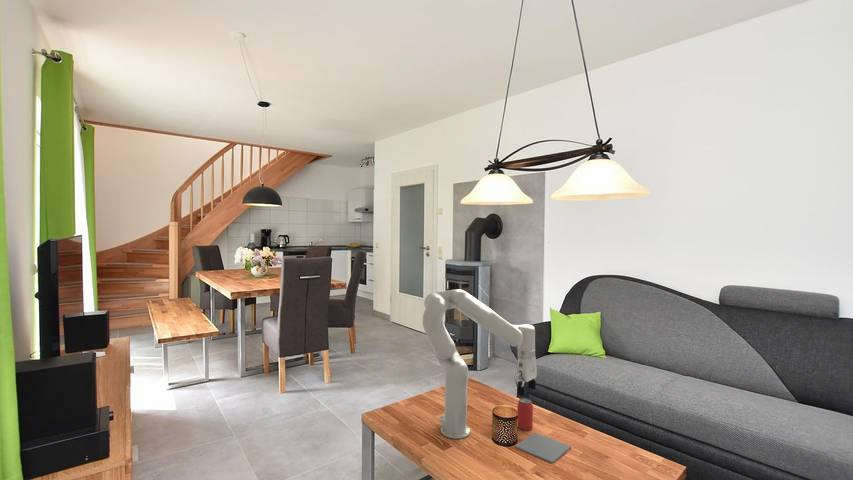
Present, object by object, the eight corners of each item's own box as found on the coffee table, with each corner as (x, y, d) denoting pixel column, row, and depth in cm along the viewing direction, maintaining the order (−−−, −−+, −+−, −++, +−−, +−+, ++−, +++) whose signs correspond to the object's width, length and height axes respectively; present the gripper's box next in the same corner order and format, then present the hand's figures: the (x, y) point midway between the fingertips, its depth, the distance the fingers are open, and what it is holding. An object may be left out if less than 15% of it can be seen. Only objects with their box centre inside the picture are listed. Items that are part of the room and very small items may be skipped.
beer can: (533, 431, 173) (533, 404, 173) (517, 430, 175) (517, 402, 175) (532, 424, 180) (532, 398, 180) (517, 423, 181) (517, 396, 181)
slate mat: (515, 447, 160) (515, 446, 160) (535, 433, 172) (535, 432, 172) (552, 463, 149) (552, 462, 149) (571, 447, 161) (571, 446, 161)
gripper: (523, 359, 168) (523, 400, 168) (543, 350, 181) (543, 388, 181) (508, 355, 173) (508, 395, 174) (528, 347, 186) (528, 384, 186)
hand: (526, 391), depth 177 cm, fingers open, 9 cm apart
